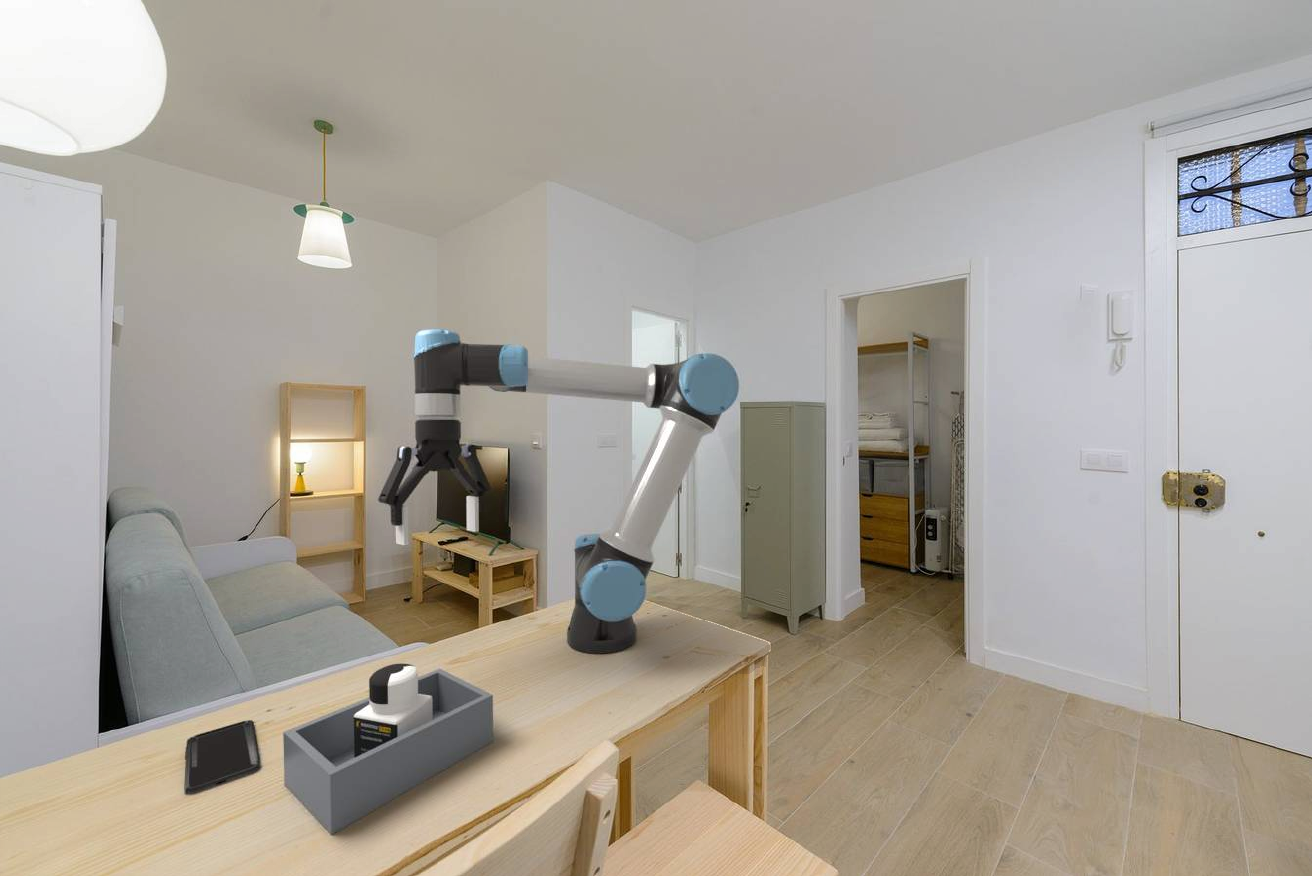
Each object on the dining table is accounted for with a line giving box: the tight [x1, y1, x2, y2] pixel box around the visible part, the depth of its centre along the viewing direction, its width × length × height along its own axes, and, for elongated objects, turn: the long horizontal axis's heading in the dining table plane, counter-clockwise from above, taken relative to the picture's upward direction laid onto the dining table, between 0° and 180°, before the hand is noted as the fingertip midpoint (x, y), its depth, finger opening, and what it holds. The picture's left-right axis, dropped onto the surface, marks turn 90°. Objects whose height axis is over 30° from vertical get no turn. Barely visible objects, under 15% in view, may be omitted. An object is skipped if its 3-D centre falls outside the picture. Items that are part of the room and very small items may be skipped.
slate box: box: [282, 668, 494, 836], centre depth 73 cm, size 22×14×7 cm, turn 143°
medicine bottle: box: [354, 662, 433, 758], centre depth 73 cm, size 7×7×12 cm
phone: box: [183, 719, 261, 796], centre depth 74 cm, size 8×1×15 cm
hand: (439, 537), depth 94 cm, fingers open, 13 cm apart
